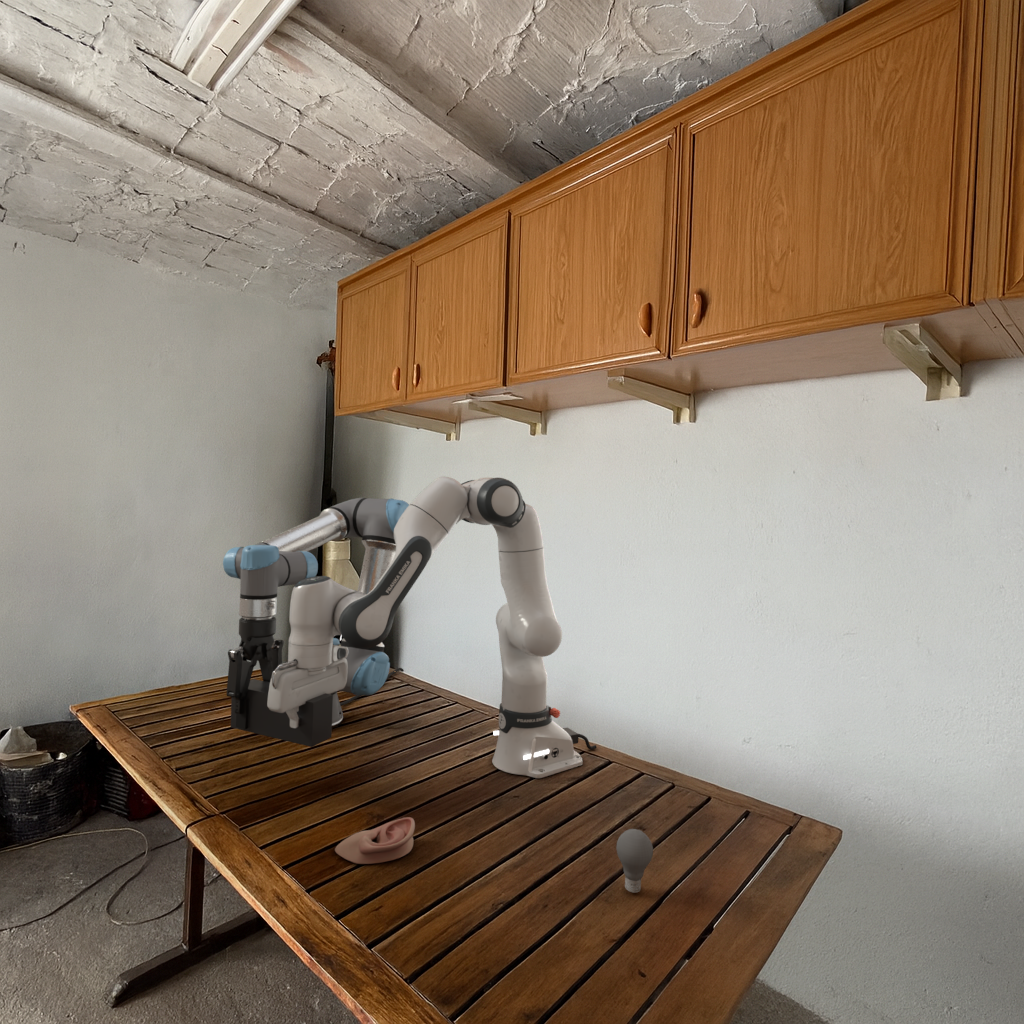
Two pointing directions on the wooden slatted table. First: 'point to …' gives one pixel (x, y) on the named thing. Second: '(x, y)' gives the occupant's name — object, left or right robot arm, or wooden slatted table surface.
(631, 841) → the light bulb
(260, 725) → the box
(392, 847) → the anatomical model
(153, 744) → the wooden slatted table surface
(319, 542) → the left robot arm
